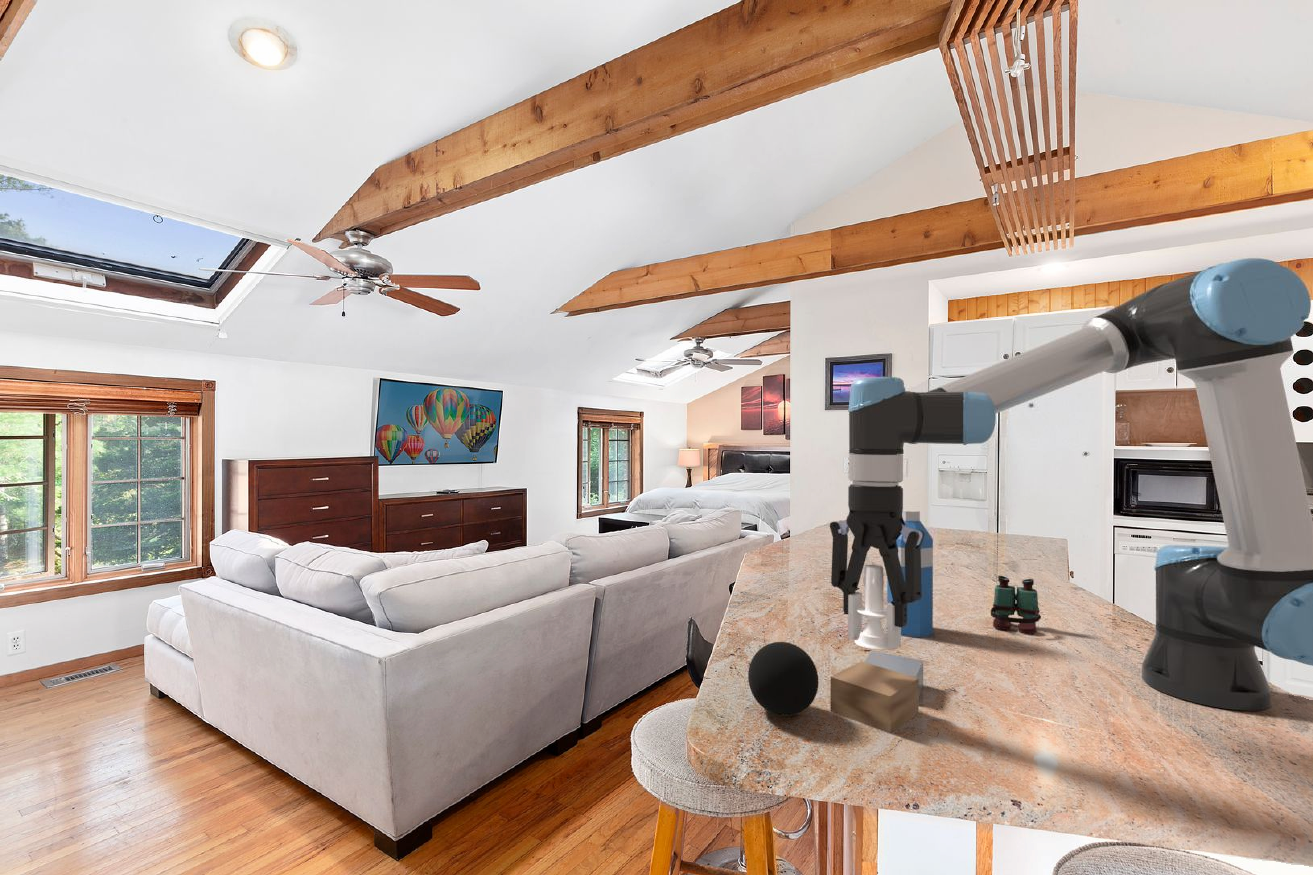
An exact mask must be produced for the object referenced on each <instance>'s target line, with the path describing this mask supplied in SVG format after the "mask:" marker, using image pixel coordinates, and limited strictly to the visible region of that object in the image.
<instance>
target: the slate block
mask: <svg viewBox="0 0 1313 875" xmlns="http://www.w3.org/2000/svg"><path fill="white" fill-rule="evenodd" d="M863 662H865V663H869V664H872V665H875V666H879V667H882V668H885V669H889V670H892V671H896V672H899V673H902V674H906V675H909V676H912V677H916V678H919V695H920V693H921V692H922V689H923V687H924V659H917V658H912V657H906V656H901V655H897V654H891V653H886V652H882V651H881V652H879V651H877V650H871V652H870V653H869V654H868V656H867V657H866V658H865V660H864V661H863Z"/></svg>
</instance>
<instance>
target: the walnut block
mask: <svg viewBox="0 0 1313 875" xmlns="http://www.w3.org/2000/svg"><path fill="white" fill-rule="evenodd" d="M919 697H920V694H919V678H916V677H912V676H909V675H906V674H902V673H899V672H896V671H892V670H889V669H885V668H882V667H879V666H875V665H872V664H869V663H865V662H864V661H858V662H856V663H855V664H853V665H851V666H849V667H847V668H845V669H843V670H841V671H839V672H837V673H835V674H833V675H831V676H830V708H829V710H830V712H832V713H836V714H838V715H840V716H843V717H846V718H848V719H851V720H854V721H856V722H858V723H861V724H864V725H866V726H867V725H868V726H869V727H872V728H875V729H878V730H880V731H883V732H885V733H888V734H891V733H893V732H894V731H895V730H897V729H899V727H902V725H904V724H905V723H906V722H908V721H909V720H911V719H912V718H913V717H914V716H916V715H917V714H919V712H920V711H919V709H920V708H919V707H920V706H919V703H920V702H919V700H920V699H919Z"/></svg>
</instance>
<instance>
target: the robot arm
mask: <svg viewBox="0 0 1313 875" xmlns="http://www.w3.org/2000/svg"><path fill="white" fill-rule="evenodd" d="M1311 308H1312V300H1311V295H1310V292H1309V289H1308V287H1307V286H1306V283H1305V282H1304V281H1303V279H1302V278H1301V277H1300V275H1298V274H1297V273H1296V272H1295V271H1293V270H1292V269H1291V268H1289V267H1287V266H1282V265H1281V264H1279V263H1278V262H1277V261H1275V260H1271V259H1267V258H1261V257H1260V258H1259V257H1250V258H1249V257H1248V258H1242V259H1241V258H1240V259H1236V260H1233V261H1229V262H1224V263H1223V262H1222V263H1219V264H1216V265H1213V266H1208V267H1206V268H1205V269H1202V270H1199V271H1196V272H1194V273H1191V274H1189V275H1186V276H1182V277H1180V278H1177V279H1174V280H1172V281H1168V282H1166V283H1162V284H1160V285H1157V286H1155V287H1153V288H1151V289H1148V290H1146V291H1145V292H1142V293H1140V294H1138V295H1137V296H1135V297H1133V298H1131V299H1129V300H1127V301H1125V302H1124V303H1122V304H1120V305H1118V306H1116V307H1114V308H1111V309H1110V310H1108V311H1105V312H1103V313H1101V314H1099V315H1096V316H1094V317H1091V318H1089V319H1087V320H1086V321H1085V322H1084V323H1083V324H1082V328H1081V329H1078V330H1076V331H1074V332H1071V333H1068V334H1066V335H1064V336H1062V337H1061V336H1060V337H1058V338H1056V339H1055V340H1054V339H1053V340H1051V341H1049V342H1047V343H1044V344H1041V345H1039V346H1036V347H1034V348H1032V349H1029V350H1028V351H1024V352H1021V353H1019V354H1017V355H1015V356H1012V357H1009V358H1007V359H1004V360H1001V361H1000V362H998V363H994V364H992V365H990V366H987V367H986V368H983V369H980V370H977V371H975V372H973V373H970V374H967V375H965V376H963V377H960V378H958V379H956V380H953V381H951V382H948V383H947V384H946V383H945V384H943V385H941V386H938V387H937V388H934V389H931V390H929V391H926V392H923V391H921V392H918V391H910V390H909V391H907V390H906V387H905V383H904V382H905V381H904V380H903V379H902V378H901V377H897V376H895V377H890V376H870V377H861V378H858V379H855V380H853V382H852V383H851V385H850V391H849V402H848V404H849V405H848V408H847V410H848V417H849V418H848V431H849V432H848V440H849V441H848V442H849V443H848V446H849V450H848V472H847V474H848V475H847V476H848V477H847V478H848V480H849V481H850V482H852V483H851V484H849V486H848V492H847V493H848V495H847V496H848V497H847V498H848V499H847V500H848V502H847V503H848V504H847V506H848V510H849V512H848V515H847V517H846V519H844V520H838V521H837V520H836V521H832V522H829V529H830V533H831V536H832V549H831V550H832V552H831V553H832V554H831V575H830V576H831V578H830V579H831V581H830V584H831V586H832V587H834V588H837V589H839V590H840V591H842V593H843V598H842V602H843V604H842V605H843V607H842V608H843V613H844V614H845V615H847V616H848V617H847V625H848V626H847V639H848V640H851V641H853V640H854V641H855V639H856V638H858V637H859V635H860V631H861V630H863V629H862V628H863V626H862V625H863V615H862V614H860V613H859V612H858V611H857V609H859V608H862V607H863V592H858V591H859V590H860V587H859V583H860V579H861V577H862V572H863V569H864V567H865V562H866V559H867V555H868V551H870V549H871V547H872V548H874V549H877V550H878V552H879V556H881V557H882V561H883V565H884V570H885V573H886V579H887V578H888V582H889V586H890V590H891V595H892V599H893V601H891V602H890V603H888V604H887V603H886V610H887V617H886V627H887V628H886V630H887V631H886V633H887V650H886V651H892V652H893V651H895V650H897V649H898V648H900V647H902V635H901V627H904V626H906V624H907V604H908V603H912V602H915V601H917V600H919V599H921V597H922V588H921V544H922V542H923V539H924V536H925V534H924V532H923V531H922V530H914V529H912V528H910V527H907V526H906V525H905V522H904V520H903V517H902V512H903V509H904V488H903V486H901V485H900V484H899V483H902V482H903V481H904V447H905V446H904V445H905V444H910V445H916V444H935V445H937V444H940V445H942V444H943V445H946V444H947V445H949V444H950V445H963V446H966V445H972V444H973V445H975V444H978V445H979V444H984V443H985V442H988V441H989V439H990V438H991V437H992V435H993V433H994V431H995V428H996V422H997V421H996V419H997V417H996V414H998V413H1000V412H1003V411H1006V410H1009V409H1011V408H1014V407H1016V406H1018V405H1021V404H1024V403H1027V402H1029V401H1031V400H1034V399H1036V398H1039V397H1041V396H1044V395H1046V394H1050V393H1052V392H1054V391H1056V390H1059V389H1062V388H1064V387H1067V386H1070V385H1073V384H1076V383H1077V382H1080V381H1082V380H1085V379H1087V378H1090V377H1092V376H1095V375H1097V374H1100V373H1102V372H1105V373H1108V374H1117V373H1120V372H1122V371H1125V370H1127V369H1131V368H1133V367H1137V366H1142V365H1146V364H1150V363H1151V364H1152V363H1156V362H1163V361H1168V360H1175V364H1176V369H1177V373H1179V374H1180V375H1182V376H1184V377H1185V378H1188V379H1189V380H1191V381H1192V382H1193V383H1194V386H1195V390H1196V394H1197V399H1198V401H1197V402H1198V404H1199V410H1200V414H1201V418H1202V425H1203V429H1204V433H1205V437H1206V443H1207V444H1206V445H1207V448H1208V453H1209V458H1210V462H1211V465H1212V466H1211V468H1212V472H1213V477H1214V480H1215V485H1216V486H1215V487H1216V491H1217V496H1218V501H1219V505H1220V509H1221V514H1222V515H1221V516H1222V518H1223V519H1222V520H1223V524H1224V528H1225V529H1224V530H1225V534H1226V538H1227V544H1228V545H1227V546H1214V545H1213V546H1210V545H1209V546H1207V545H1181V544H1180V545H1176V544H1175V545H1172V544H1170V545H1163V546H1161V547H1159V549H1158V550H1157V552H1156V558H1155V565H1154V571H1155V635H1154V637H1153V639H1152V641H1151V644H1150V646H1149V648H1148V651H1147V653H1146V655H1145V657H1144V659H1143V661H1142V665H1141V678H1142V680H1143V681H1144V683H1146V684H1147V685H1149V686H1150V687H1152V688H1154V689H1155V690H1157V691H1160V692H1162V693H1163V694H1167V695H1170V696H1172V697H1175V698H1178V699H1181V700H1185V701H1188V702H1190V703H1191V702H1192V703H1196V704H1201V705H1204V706H1209V707H1213V708H1214V707H1215V708H1218V709H1219V708H1221V709H1227V710H1234V711H1246V712H1247V711H1248V712H1249V711H1250V712H1251V711H1254V712H1255V711H1263V710H1267V709H1269V708H1270V707H1271V706H1272V690H1271V687H1270V685H1269V683H1268V679H1267V677H1266V675H1265V673H1264V670H1263V668H1262V665H1261V663H1260V660H1259V657H1258V655H1257V654H1256V650H1255V649H1256V648H1259V649H1262V650H1264V651H1267V652H1269V653H1271V654H1272V655H1274V656H1276V657H1278V658H1281V659H1284V660H1289V661H1294V662H1297V663H1301V664H1302V665H1303V664H1304V665H1308V666H1312V667H1313V515H1312V512H1311V507H1310V506H1311V505H1310V502H1309V497H1308V492H1307V488H1306V484H1305V479H1304V474H1303V468H1302V465H1301V464H1302V463H1301V459H1300V456H1299V450H1298V446H1297V441H1296V437H1295V432H1294V428H1293V422H1292V418H1291V412H1290V408H1289V403H1288V400H1287V395H1286V394H1287V393H1286V391H1285V390H1286V389H1285V385H1284V380H1283V376H1282V375H1283V374H1282V371H1281V368H1282V366H1283V364H1284V363H1285V362H1286V361H1287V360H1288V359H1289V358H1290V357H1292V355H1293V354H1294V352H1295V351H1294V347H1293V343H1292V337H1294V336H1295V334H1297V333H1298V332H1300V331H1301V330H1302V328H1303V327H1304V326H1305V323H1304V322H1305V320H1307V319H1308V318H1309V316H1310V314H1311V310H1312V309H1311ZM849 532H851V533H852V535H853V537H854V538H853V541H852V545H851V550H852V551H851V554H850V557H849V562H848V548H849V547H848V546H849V536H848V534H849ZM901 534H903V541H904V542H905V543H906V544H905V580H904V576H903V572H902V568H901V565H900V561H899V557H898V552H899V550H898V546H897V542H896V540H897V539H898V538H899V536H900V535H901ZM1255 647H1256V648H1255Z"/></svg>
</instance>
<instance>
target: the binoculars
mask: <svg viewBox="0 0 1313 875" xmlns="http://www.w3.org/2000/svg"><path fill="white" fill-rule="evenodd" d="M997 576H998V577H997V581H998V582H999V584H997V585H995V586H994V594H993V596H994V597H993V604H992V607H991V609H990V616H991V617H992V618H994V619H993V622H992V627H993V628H995V629H996V630H998V631H1002V632H1008V631H1011V628H1012V623H1015V624H1016V623H1017V630H1018V632H1019V633H1020V634H1023V635H1033V634H1037V625H1036V624H1037V622H1039V621H1040V620H1041V619H1042V616H1041V614H1040V607H1039V597H1038V591H1037V589H1034V588H1033V586H1034V584H1035V582H1034V579H1033V578H1027V579H1023V580H1021V584H1022V585H1023V586H1017V587H1015V586H1014V585H1009V583H1010V579H1009V578H1008V577H1006V576H1005V575H1004V576H1003V575H997ZM1015 612H1016V615H1017V616H1018V617H1011V616H1014V615H1015Z"/></svg>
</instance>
